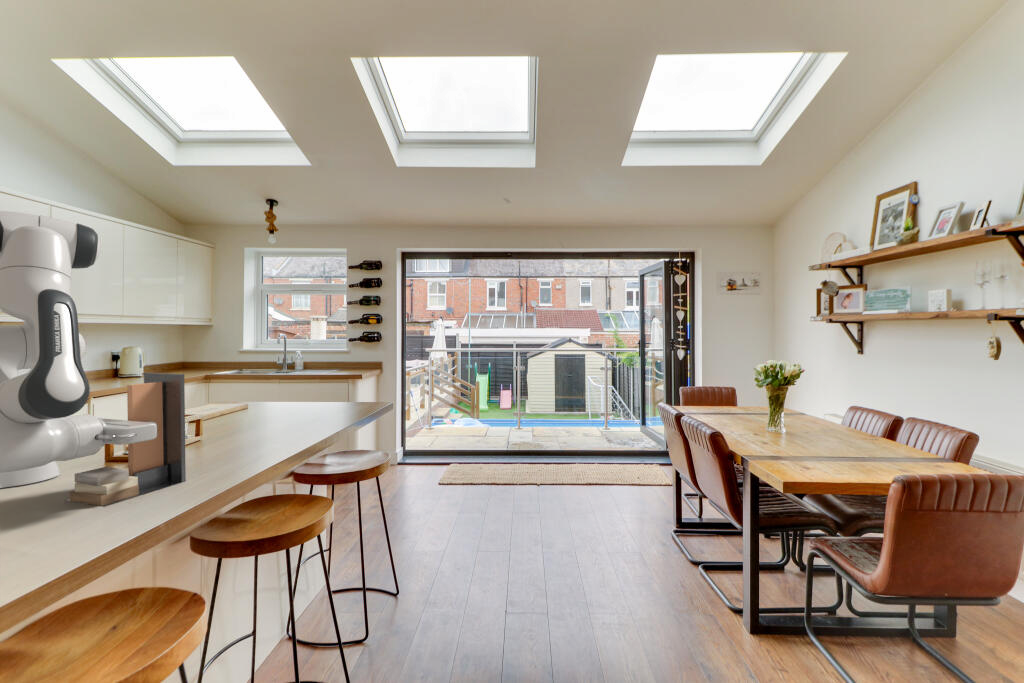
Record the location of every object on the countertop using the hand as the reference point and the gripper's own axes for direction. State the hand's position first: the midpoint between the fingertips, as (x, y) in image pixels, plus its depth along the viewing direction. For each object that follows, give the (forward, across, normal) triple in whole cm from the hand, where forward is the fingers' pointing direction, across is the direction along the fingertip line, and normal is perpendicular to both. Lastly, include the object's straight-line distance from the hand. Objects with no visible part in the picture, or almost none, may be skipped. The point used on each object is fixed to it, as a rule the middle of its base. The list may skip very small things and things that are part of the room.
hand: (147, 423), depth 116 cm
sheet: (0, 0, +14) cm, 14 cm away
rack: (-4, 0, +16) cm, 16 cm away
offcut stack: (-9, 0, +14) cm, 17 cm away
